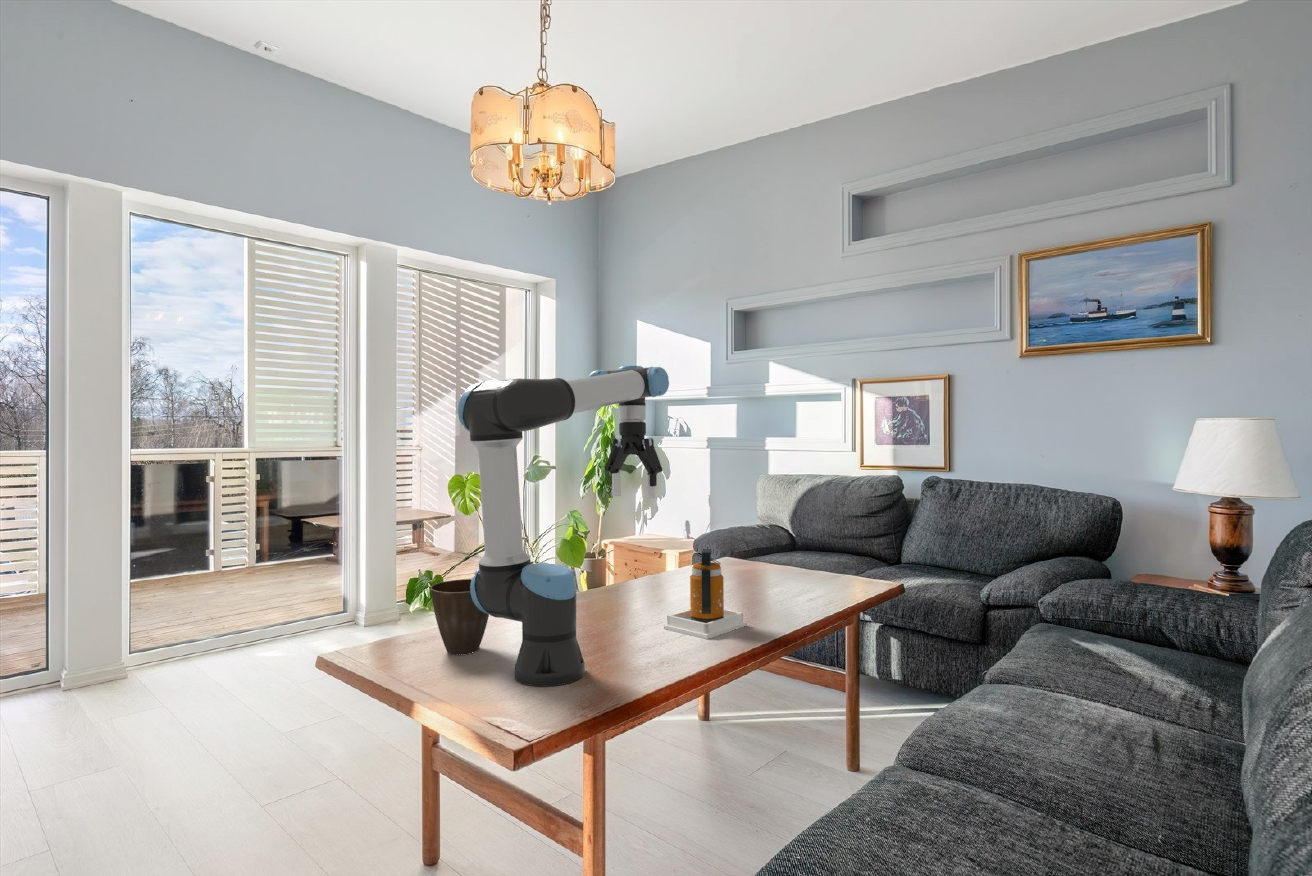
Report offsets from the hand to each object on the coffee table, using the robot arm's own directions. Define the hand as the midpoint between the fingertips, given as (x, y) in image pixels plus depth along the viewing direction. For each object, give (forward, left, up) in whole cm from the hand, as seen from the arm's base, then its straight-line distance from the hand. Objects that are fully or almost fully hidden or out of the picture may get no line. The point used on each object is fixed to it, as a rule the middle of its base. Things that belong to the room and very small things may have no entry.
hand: (633, 497), depth 199 cm
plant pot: (-47, +12, -35) cm, 60 cm away
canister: (+8, -20, -34) cm, 40 cm away
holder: (+8, -19, -35) cm, 40 cm away
